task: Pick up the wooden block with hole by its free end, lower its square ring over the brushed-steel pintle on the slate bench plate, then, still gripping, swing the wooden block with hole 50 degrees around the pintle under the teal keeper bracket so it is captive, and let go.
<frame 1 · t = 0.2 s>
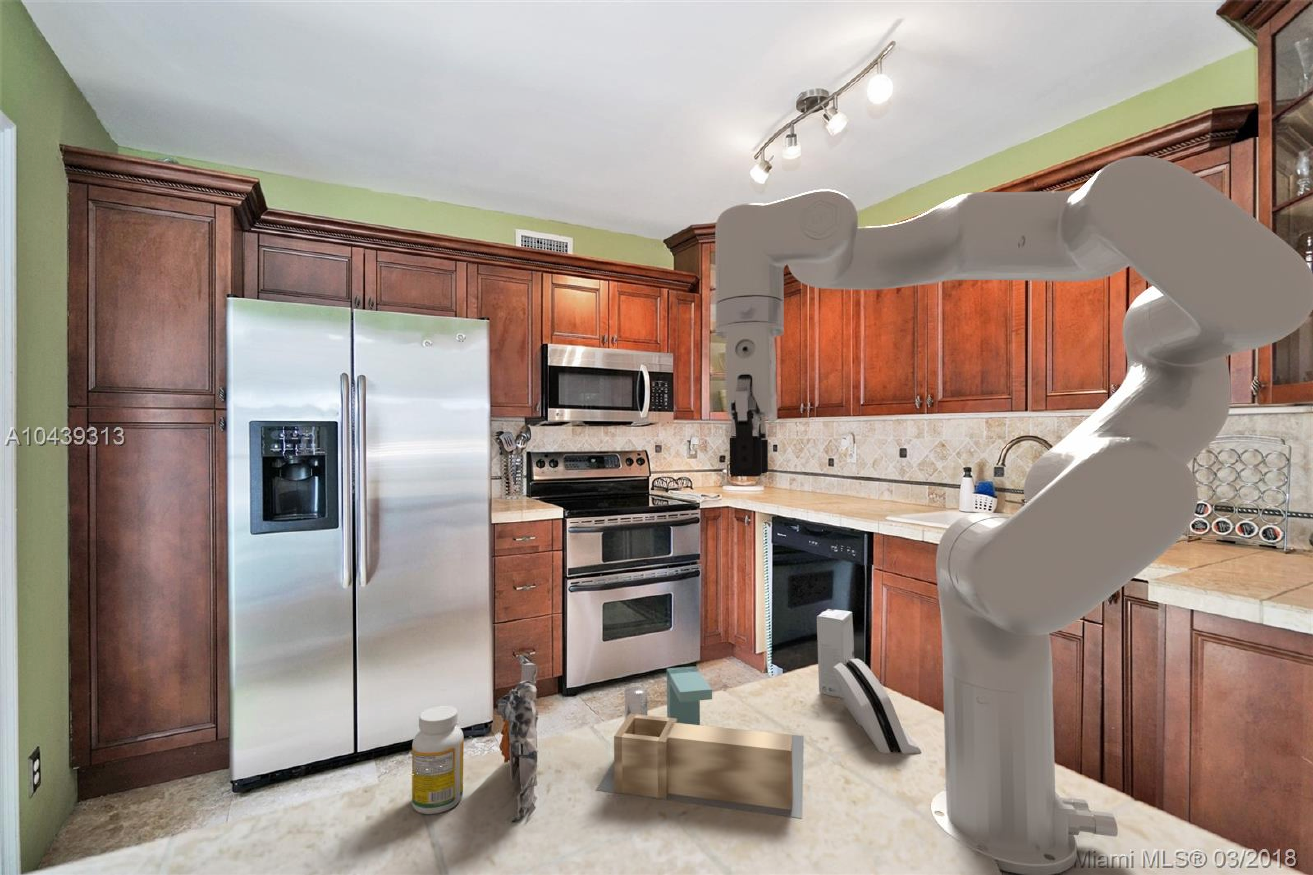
hand: (750, 474, 66), 36 cm above the counter, tool pointing down, fingers open, 9 cm apart
supplement bottle: (438, 803, 66), on the counter
pintle: (636, 721, 74), on the bench plate, point 5 cm above the counter
skincare box: (836, 691, 96), on the counter
bench plate: (708, 770, 71), on the counter
white slotted curved device: (872, 734, 81), on the counter
wooden block with hole: (717, 790, 65), point 1 cm above the counter, touching bench plate
meal: (519, 795, 67), on the counter
keeper: (688, 710, 76), on the bench plate, point 5 cm above the counter
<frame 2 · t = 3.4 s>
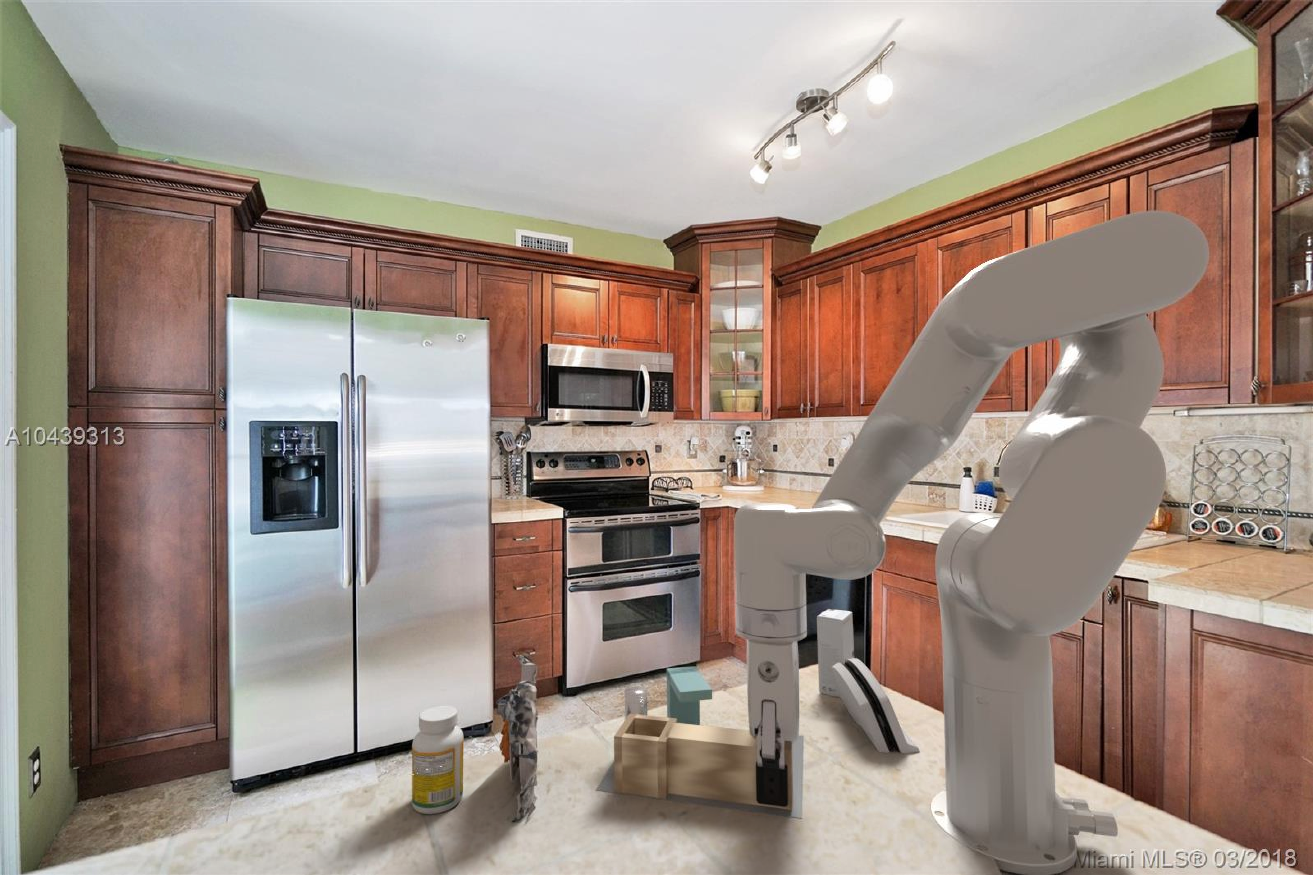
hand: (773, 790, 64), 2 cm above the counter, tool pointing down, fingers closed on wooden block with hole, 3 cm apart
wooden block with hole: (717, 790, 65), point 1 cm above the counter, touching bench plate, gripper
everything else where it was.
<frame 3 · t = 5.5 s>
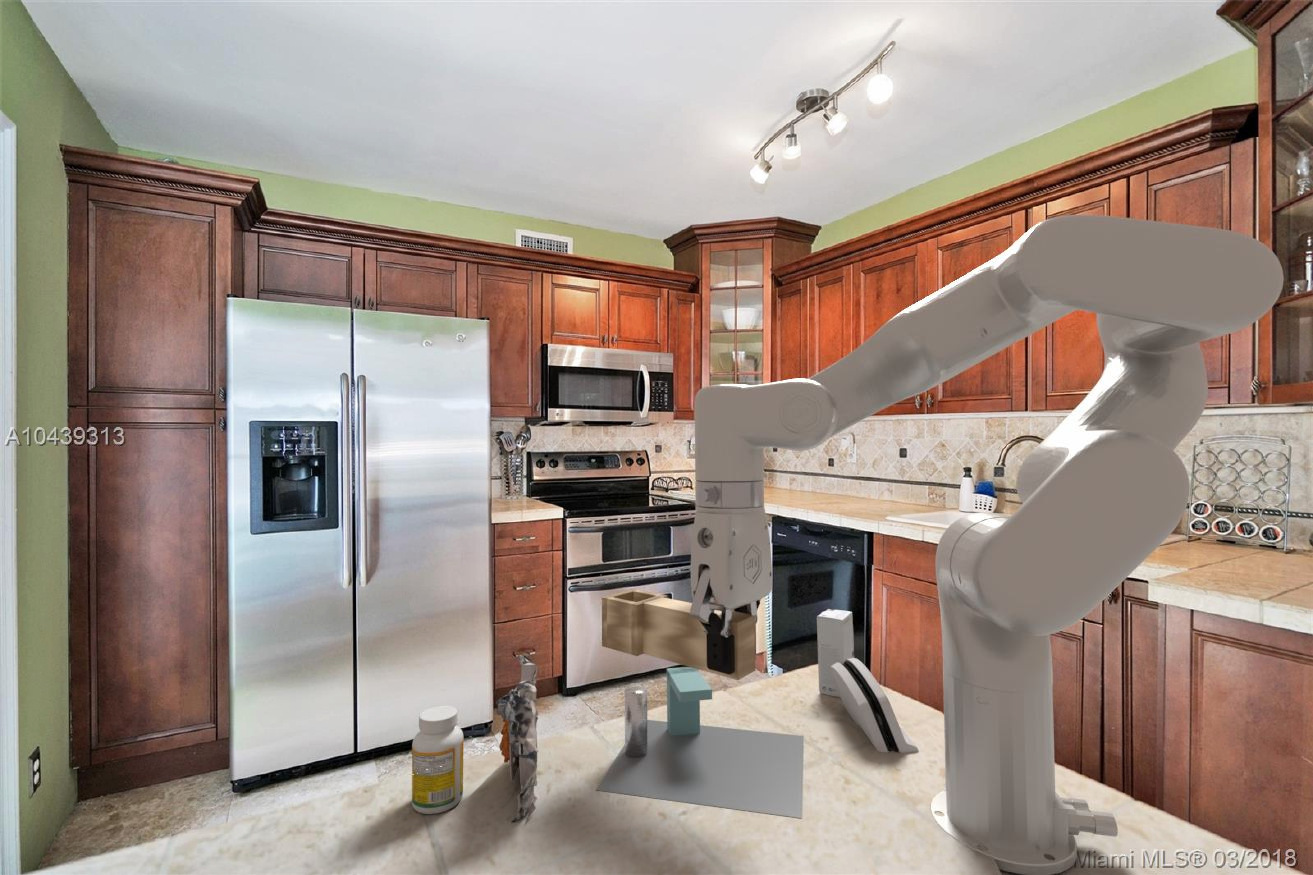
hand: (731, 663, 65), 15 cm above the counter, tool pointing down, fingers closed on wooden block with hole, 3 cm apart
wooden block with hole: (686, 659, 69), point 14 cm above the counter, touching gripper
everything else where it was.
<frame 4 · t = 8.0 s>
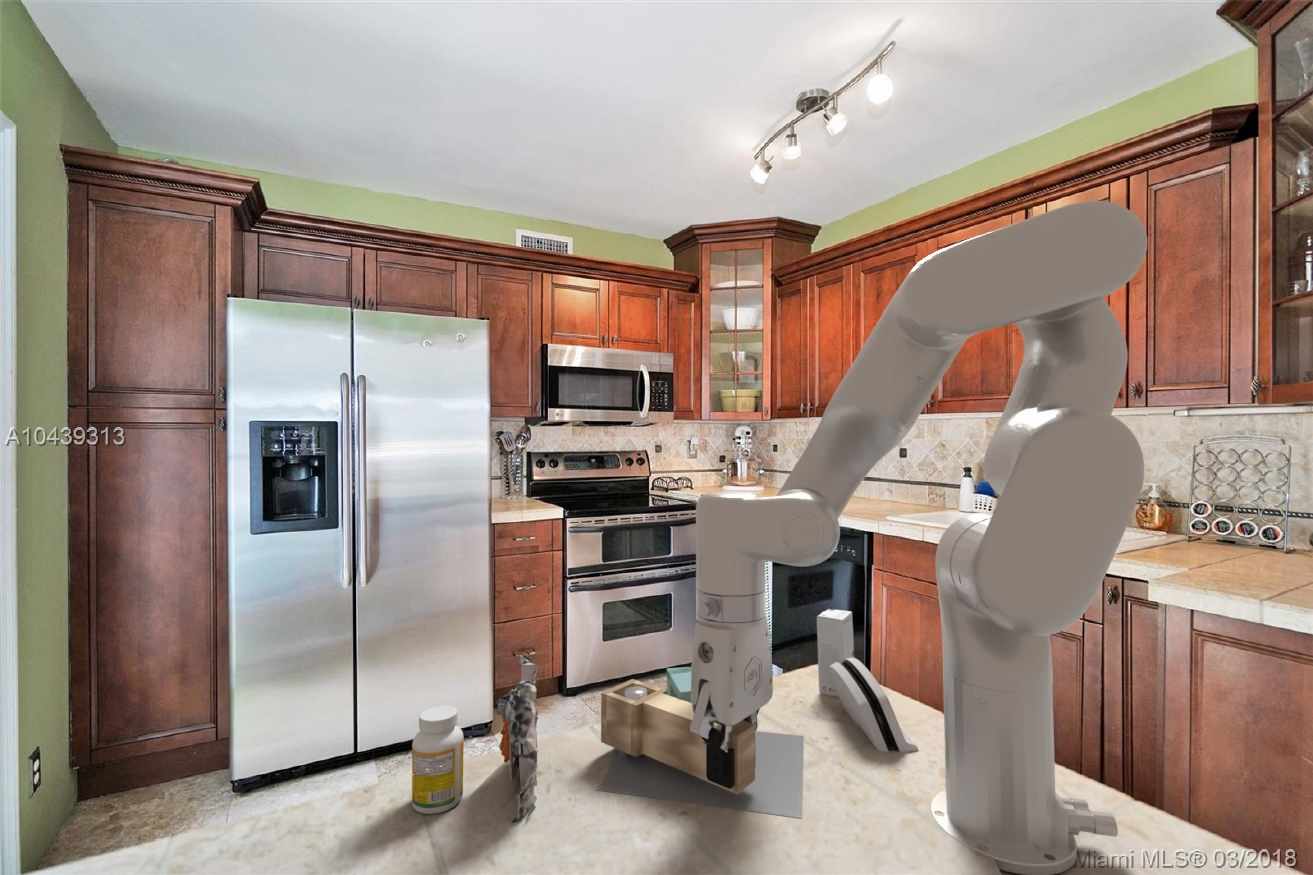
hand: (731, 773, 65), 3 cm above the counter, tool pointing down, fingers closed on wooden block with hole, 3 cm apart
wooden block with hole: (686, 762, 69), point 2 cm above the counter, touching gripper
everything else where it was.
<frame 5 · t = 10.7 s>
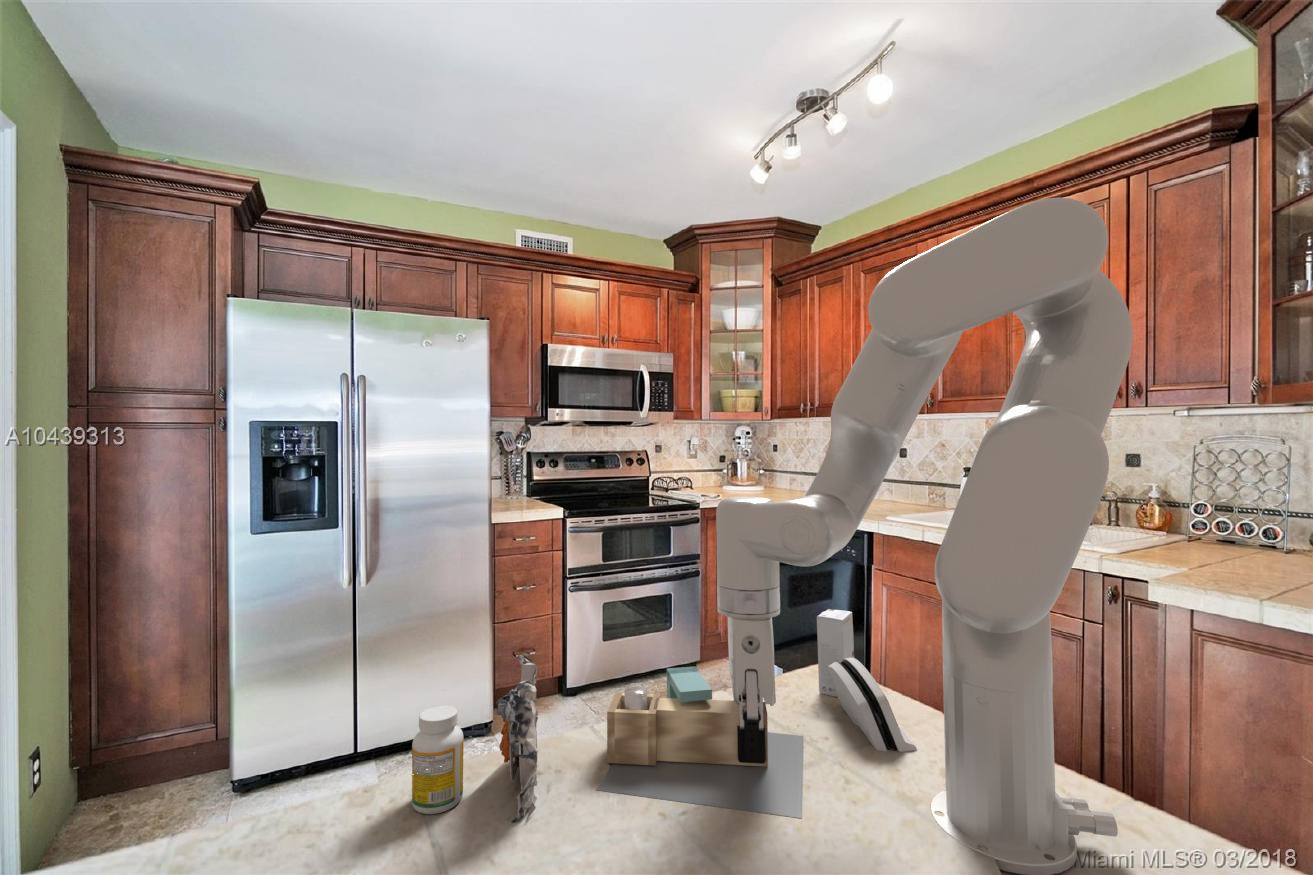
hand: (750, 751, 72), 2 cm above the counter, tool pointing down, fingers closed on wooden block with hole, 3 cm apart
wooden block with hole: (700, 755, 72), point 1 cm above the counter, touching gripper
everything else where it was.
when the fingers open (2 cm above the counter, at t = 12.7 s): wooden block with hole stays where it is, resting on bench plate.
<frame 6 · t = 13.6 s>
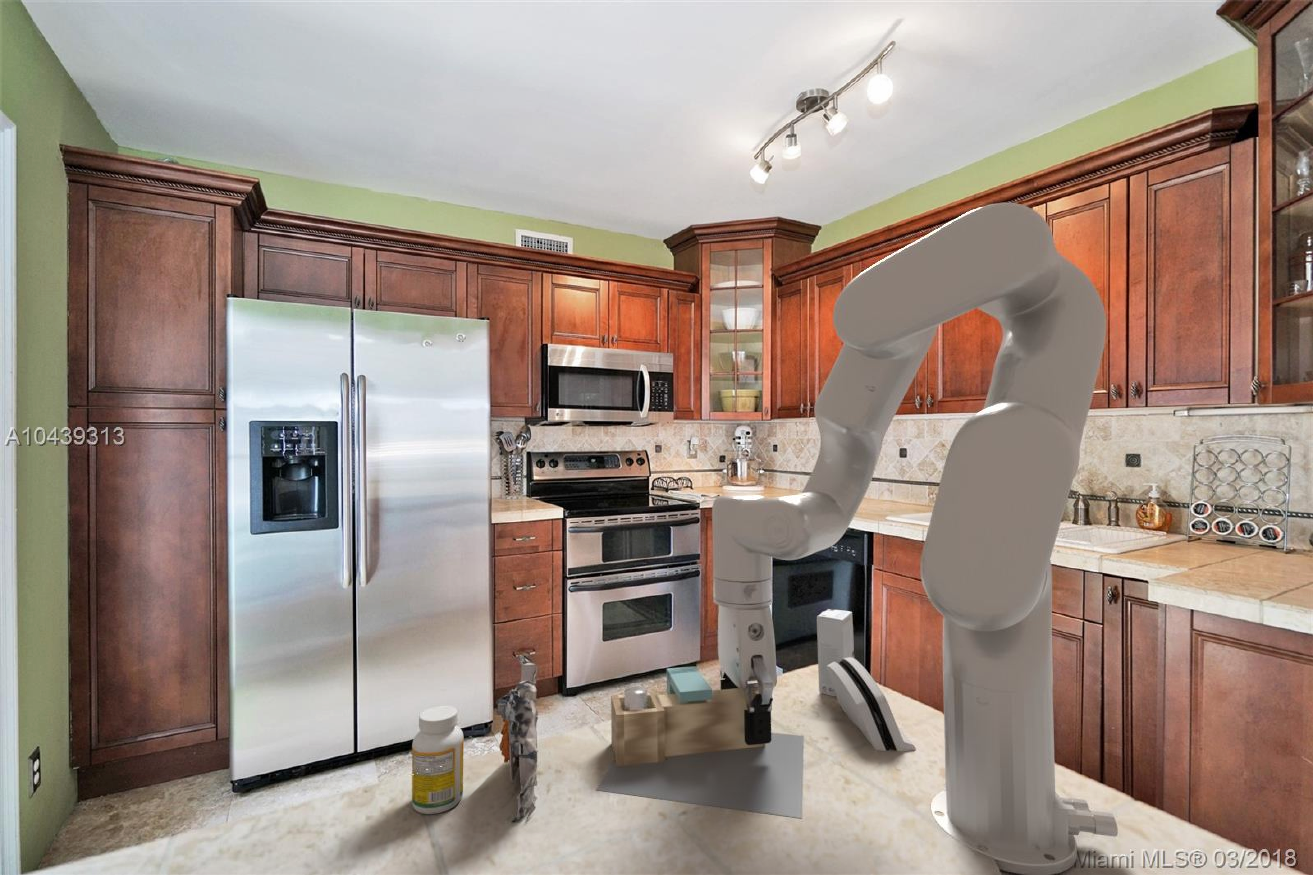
hand: (744, 725, 76), 3 cm above the counter, tool pointing down, fingers open, 9 cm apart
wooden block with hole: (700, 745, 75), point 1 cm above the counter, touching bench plate
everything else where it was.
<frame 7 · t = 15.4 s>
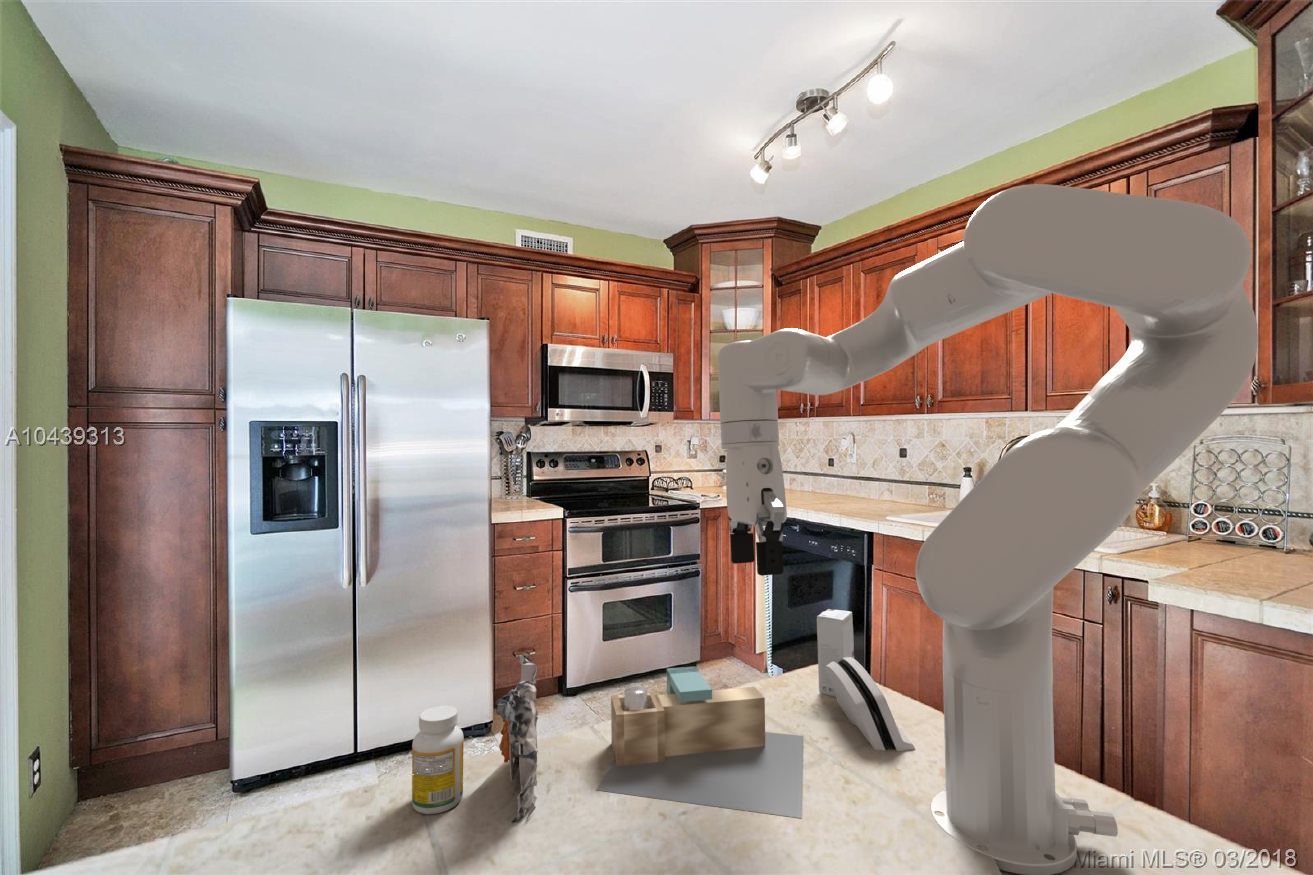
hand: (755, 568, 77), 23 cm above the counter, tool pointing down, fingers open, 9 cm apart
nothing on the counter moved.
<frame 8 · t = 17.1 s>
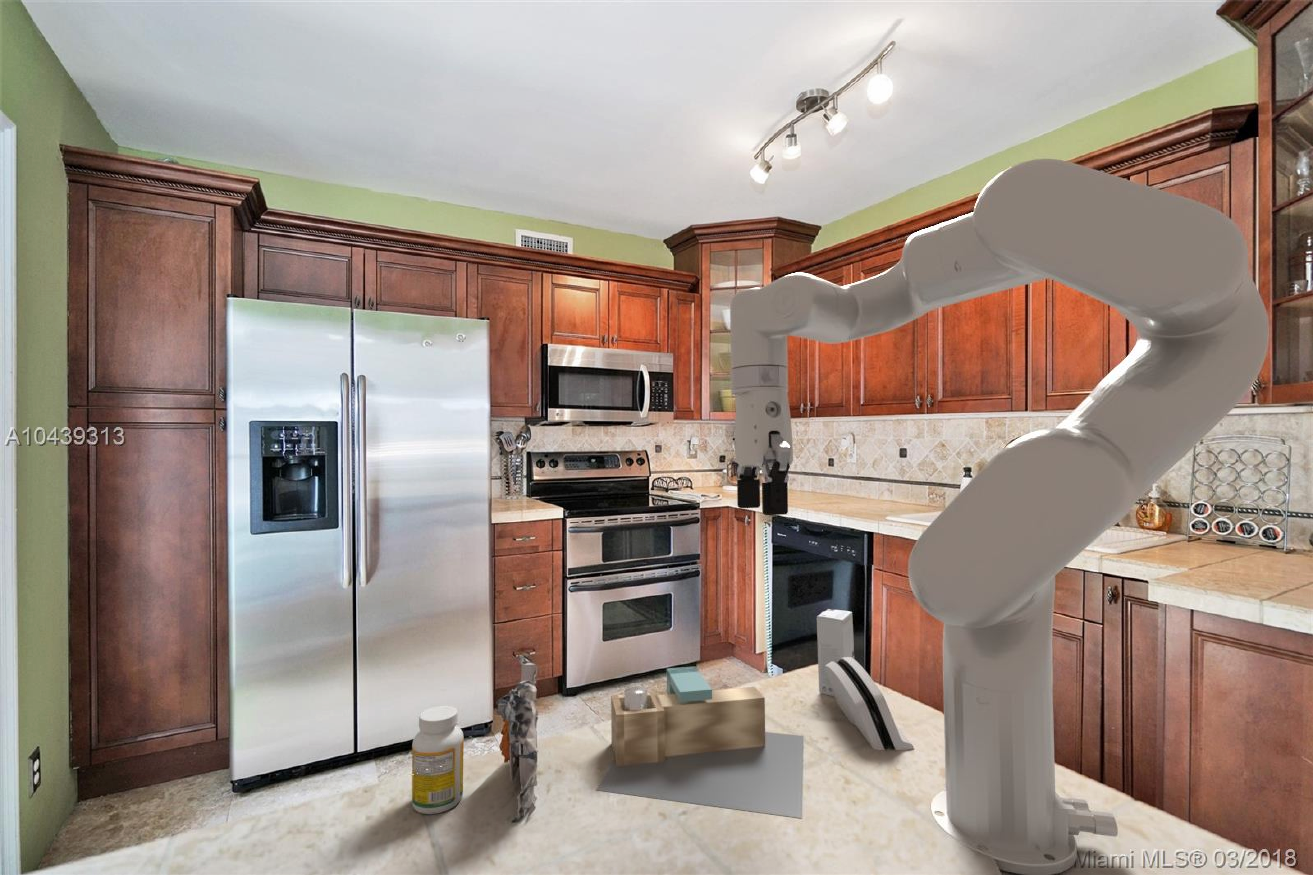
hand: (761, 510, 79), 30 cm above the counter, tool pointing down, fingers open, 9 cm apart
at the end: wooden block with hole 0.3 cm from the target spot, point 1.2 cm above the counter; wooden block with hole tilted 0°; the gripper is holding nothing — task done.
